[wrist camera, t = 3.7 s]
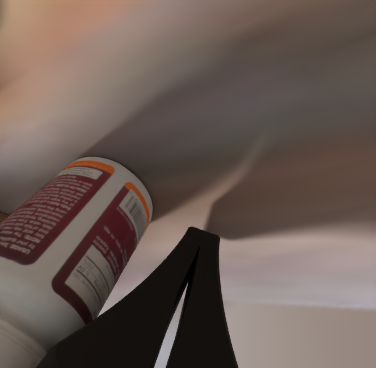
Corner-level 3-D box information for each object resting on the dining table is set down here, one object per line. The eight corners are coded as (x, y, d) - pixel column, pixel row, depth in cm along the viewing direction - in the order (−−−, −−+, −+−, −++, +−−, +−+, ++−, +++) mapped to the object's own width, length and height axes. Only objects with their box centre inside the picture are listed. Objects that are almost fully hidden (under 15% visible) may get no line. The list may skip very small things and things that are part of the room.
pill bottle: (57, 197, 15) (-120, 364, 8) (81, 133, 12) (-163, 316, 6) (132, 245, 16) (19, 437, 9) (173, 195, 13) (48, 427, 6)
